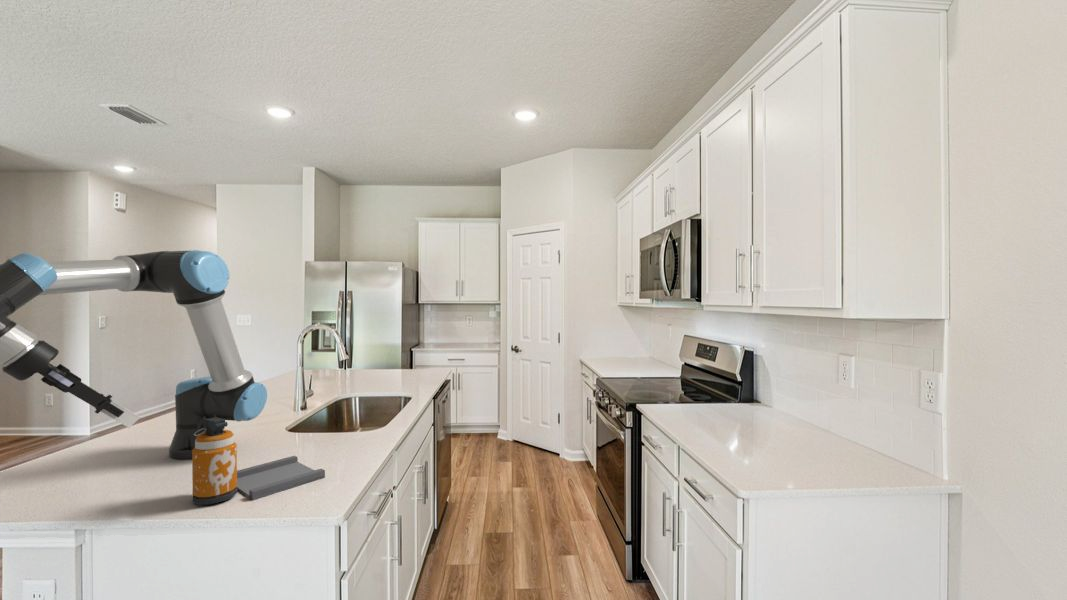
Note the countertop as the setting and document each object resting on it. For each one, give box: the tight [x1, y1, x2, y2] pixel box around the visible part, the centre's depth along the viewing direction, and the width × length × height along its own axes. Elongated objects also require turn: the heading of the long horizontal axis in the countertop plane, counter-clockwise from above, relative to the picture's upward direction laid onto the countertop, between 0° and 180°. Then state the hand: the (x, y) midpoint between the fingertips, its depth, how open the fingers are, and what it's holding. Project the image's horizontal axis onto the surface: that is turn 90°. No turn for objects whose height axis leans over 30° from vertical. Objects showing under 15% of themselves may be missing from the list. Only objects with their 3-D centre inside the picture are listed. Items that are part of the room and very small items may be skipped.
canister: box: [191, 415, 238, 506], centre depth 115 cm, size 9×11×20 cm
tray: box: [237, 455, 326, 501], centre depth 126 cm, size 18×18×2 cm
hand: (133, 422), depth 102 cm, fingers closed
